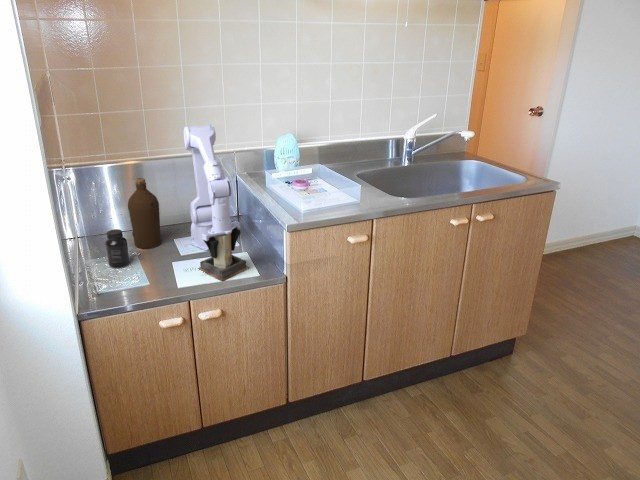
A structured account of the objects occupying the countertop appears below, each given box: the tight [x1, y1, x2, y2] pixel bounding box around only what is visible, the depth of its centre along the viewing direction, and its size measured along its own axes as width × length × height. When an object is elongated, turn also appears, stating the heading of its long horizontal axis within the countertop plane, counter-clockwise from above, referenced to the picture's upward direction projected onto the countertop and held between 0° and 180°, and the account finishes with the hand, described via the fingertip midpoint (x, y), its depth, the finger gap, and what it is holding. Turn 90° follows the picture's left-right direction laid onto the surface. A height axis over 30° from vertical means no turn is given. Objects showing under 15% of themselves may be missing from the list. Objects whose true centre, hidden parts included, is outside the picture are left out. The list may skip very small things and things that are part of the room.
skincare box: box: [214, 233, 233, 270], centre depth 165 cm, size 6×4×12 cm
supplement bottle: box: [104, 228, 130, 269], centre depth 166 cm, size 7×7×12 cm
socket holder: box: [197, 254, 250, 282], centre depth 167 cm, size 12×12×3 cm
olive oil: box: [127, 177, 162, 250], centre depth 179 cm, size 11×11×25 cm
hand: (222, 253), depth 166 cm, fingers closed on skincare box, 7 cm apart
